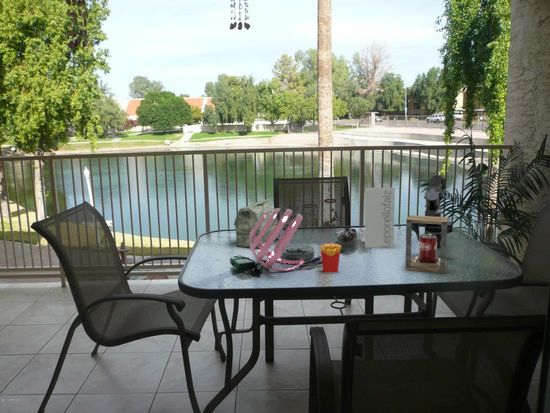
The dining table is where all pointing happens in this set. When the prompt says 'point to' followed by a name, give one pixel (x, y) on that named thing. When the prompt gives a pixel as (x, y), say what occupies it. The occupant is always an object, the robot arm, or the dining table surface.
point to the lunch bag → (253, 222)
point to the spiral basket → (273, 235)
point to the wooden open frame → (414, 263)
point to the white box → (379, 217)
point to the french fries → (330, 257)
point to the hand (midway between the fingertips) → (429, 241)
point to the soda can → (428, 249)
